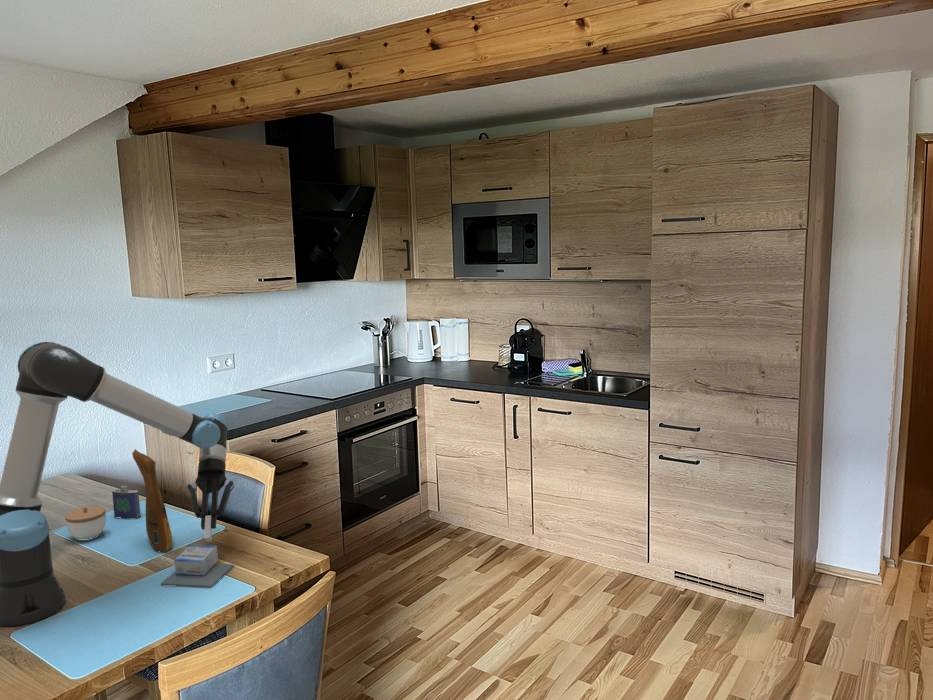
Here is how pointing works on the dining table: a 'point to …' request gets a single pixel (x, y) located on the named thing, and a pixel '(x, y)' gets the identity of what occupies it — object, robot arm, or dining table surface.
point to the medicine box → (196, 560)
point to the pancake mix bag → (154, 505)
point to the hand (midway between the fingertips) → (207, 539)
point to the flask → (126, 503)
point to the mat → (199, 577)
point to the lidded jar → (86, 522)
